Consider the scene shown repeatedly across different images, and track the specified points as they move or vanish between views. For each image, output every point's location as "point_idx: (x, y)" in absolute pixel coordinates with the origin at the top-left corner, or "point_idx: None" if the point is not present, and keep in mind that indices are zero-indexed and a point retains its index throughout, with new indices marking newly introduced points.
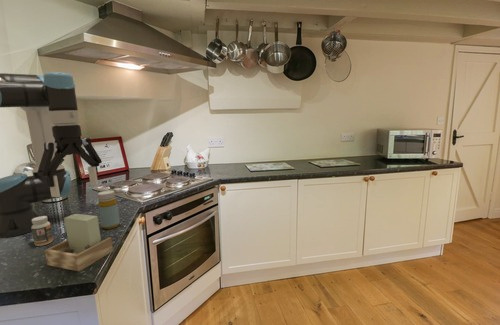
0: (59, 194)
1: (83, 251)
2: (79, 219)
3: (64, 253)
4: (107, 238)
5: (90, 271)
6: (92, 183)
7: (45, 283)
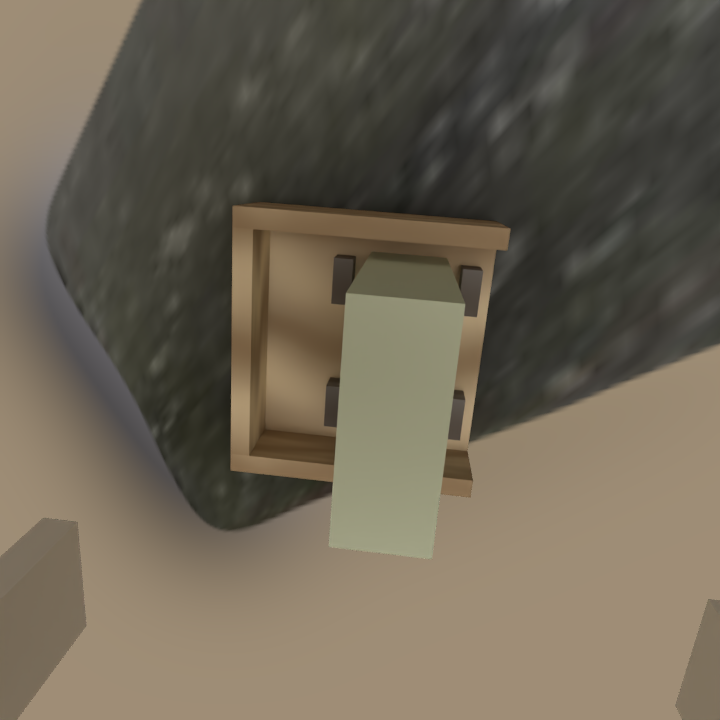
0: (61, 650)
1: (283, 463)
2: (340, 468)
3: (237, 374)
4: (454, 482)
5: (270, 480)
6: (709, 667)
7: (141, 357)
